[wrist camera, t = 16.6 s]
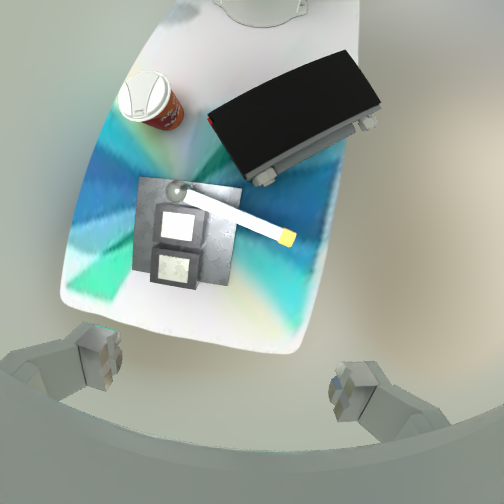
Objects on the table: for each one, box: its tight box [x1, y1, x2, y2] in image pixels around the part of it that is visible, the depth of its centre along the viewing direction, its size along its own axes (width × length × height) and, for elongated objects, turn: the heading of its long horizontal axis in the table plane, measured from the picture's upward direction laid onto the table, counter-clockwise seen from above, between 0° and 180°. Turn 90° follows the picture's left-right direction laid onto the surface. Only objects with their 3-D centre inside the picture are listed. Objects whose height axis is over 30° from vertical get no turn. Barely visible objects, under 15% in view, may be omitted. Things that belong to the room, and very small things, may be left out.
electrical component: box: [207, 50, 381, 187], centre depth 34 cm, size 18×10×20 cm, turn 121°
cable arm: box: [165, 180, 297, 248], centre depth 39 cm, size 20×3×2 cm, turn 67°
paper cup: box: [118, 70, 183, 130], centre depth 35 cm, size 8×8×14 cm
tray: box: [132, 177, 242, 290], centre depth 44 cm, size 17×18×6 cm
